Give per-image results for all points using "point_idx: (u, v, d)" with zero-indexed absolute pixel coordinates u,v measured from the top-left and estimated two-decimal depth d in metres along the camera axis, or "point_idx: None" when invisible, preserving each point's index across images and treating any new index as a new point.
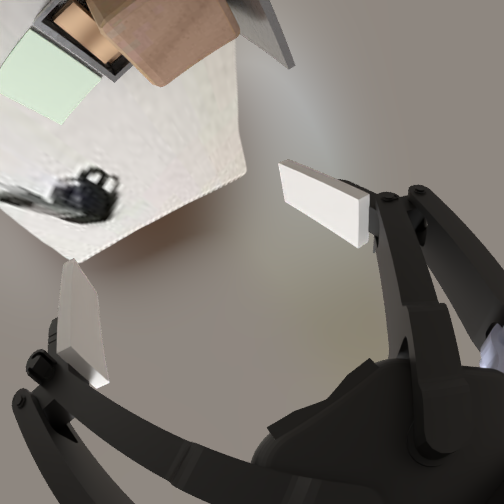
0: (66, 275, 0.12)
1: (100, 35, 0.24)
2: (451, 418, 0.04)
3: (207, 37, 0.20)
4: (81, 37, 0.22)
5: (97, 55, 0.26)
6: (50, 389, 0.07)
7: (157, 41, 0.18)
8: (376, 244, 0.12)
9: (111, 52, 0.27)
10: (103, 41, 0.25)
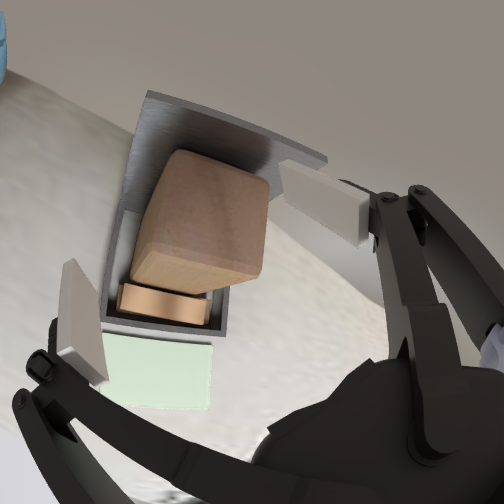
0: (66, 275, 0.12)
1: (175, 301, 0.35)
2: (451, 418, 0.04)
3: (249, 202, 0.25)
4: (159, 311, 0.34)
5: (189, 320, 0.36)
6: (50, 389, 0.07)
7: (213, 232, 0.23)
8: (376, 244, 0.12)
9: (199, 311, 0.37)
10: (183, 305, 0.36)
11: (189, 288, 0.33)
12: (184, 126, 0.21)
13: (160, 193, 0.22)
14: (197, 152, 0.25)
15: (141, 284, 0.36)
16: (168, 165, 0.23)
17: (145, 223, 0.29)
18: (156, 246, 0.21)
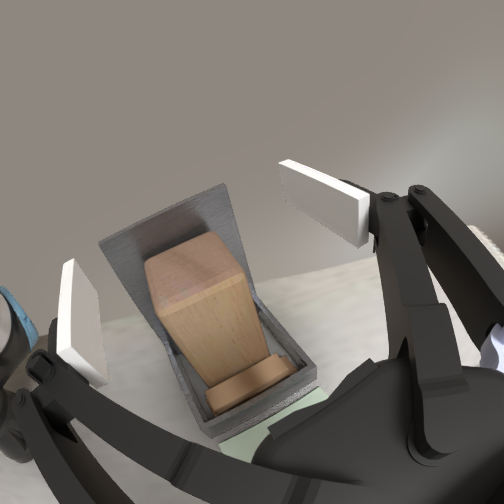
0: (66, 275, 0.12)
1: (252, 372, 0.36)
2: (451, 418, 0.04)
3: (204, 246, 0.32)
4: (246, 388, 0.34)
5: (274, 375, 0.34)
6: (50, 389, 0.07)
7: (190, 275, 0.29)
8: (376, 244, 0.12)
9: (276, 362, 0.36)
10: (260, 369, 0.36)
11: (245, 350, 0.35)
12: (134, 245, 0.32)
13: (148, 286, 0.30)
14: None
15: None
16: (145, 272, 0.32)
17: None
18: (158, 307, 0.26)
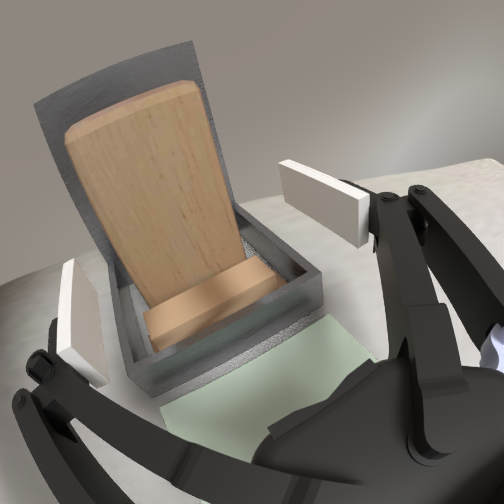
0: (66, 275, 0.12)
1: (217, 281, 0.24)
2: (451, 418, 0.04)
3: None
4: (205, 304, 0.22)
5: (253, 284, 0.23)
6: (50, 389, 0.07)
7: None
8: (376, 244, 0.12)
9: (257, 267, 0.24)
10: (230, 277, 0.24)
11: (206, 240, 0.23)
12: (73, 105, 0.20)
13: None
14: None
15: None
16: None
17: None
18: (68, 130, 0.14)
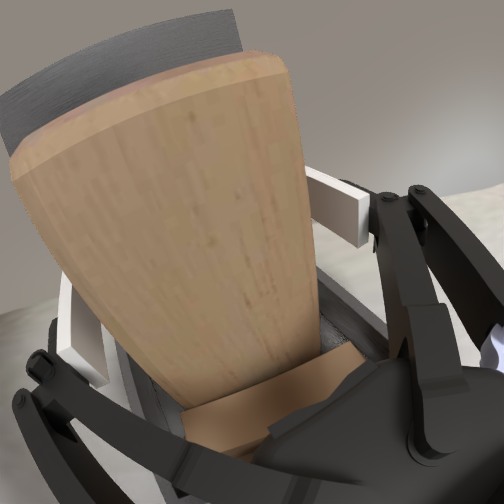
0: None
1: (294, 381, 0.15)
2: (451, 418, 0.04)
3: None
4: (275, 420, 0.13)
5: None
6: (50, 389, 0.07)
7: None
8: (376, 244, 0.12)
9: (352, 363, 0.15)
10: (314, 377, 0.15)
11: (276, 329, 0.14)
12: (49, 100, 0.12)
13: None
14: None
15: None
16: None
17: None
18: (15, 151, 0.06)
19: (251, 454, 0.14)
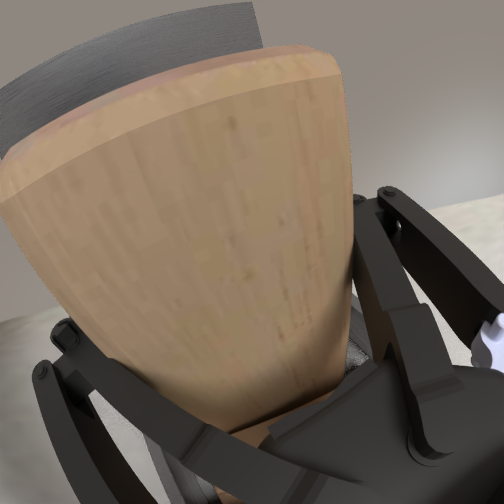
0: None
1: None
2: (451, 418, 0.04)
3: None
4: None
5: None
6: (72, 358, 0.08)
7: None
8: None
9: None
10: None
11: (306, 358, 0.12)
12: (46, 99, 0.10)
13: None
14: None
15: None
16: None
17: None
18: (0, 165, 0.04)
19: None
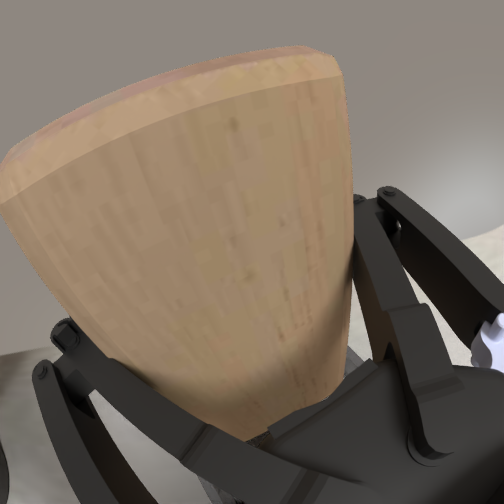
0: None
1: None
2: (451, 418, 0.04)
3: None
4: None
5: None
6: (72, 358, 0.08)
7: None
8: None
9: None
10: None
11: (306, 358, 0.13)
12: None
13: None
14: None
15: None
16: None
17: None
18: (0, 165, 0.04)
19: None
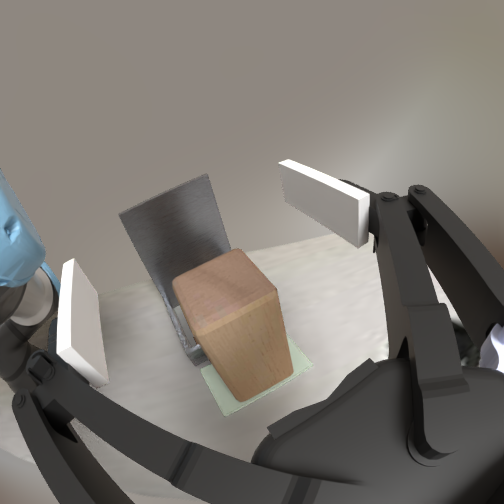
0: (66, 275, 0.12)
1: None
2: (451, 418, 0.04)
3: (233, 265, 0.34)
4: None
5: None
6: (50, 389, 0.07)
7: (224, 294, 0.30)
8: (376, 244, 0.12)
9: None
10: None
11: (272, 361, 0.36)
12: (143, 216, 0.47)
13: (180, 305, 0.31)
14: (161, 225, 0.49)
15: (247, 395, 0.38)
16: (174, 291, 0.33)
17: None
18: (196, 327, 0.28)
19: None
